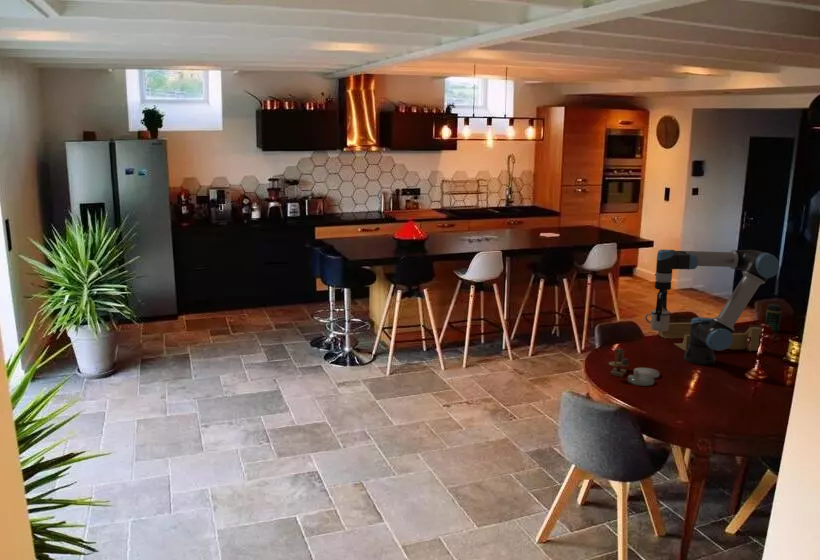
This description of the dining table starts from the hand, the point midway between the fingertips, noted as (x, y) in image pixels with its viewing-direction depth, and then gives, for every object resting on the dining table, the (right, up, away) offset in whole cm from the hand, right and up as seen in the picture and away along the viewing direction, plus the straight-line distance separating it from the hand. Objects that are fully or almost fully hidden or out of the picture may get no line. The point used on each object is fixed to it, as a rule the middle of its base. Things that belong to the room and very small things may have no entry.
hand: (659, 325), depth 343 cm
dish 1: (-9, -24, -7) cm, 26 cm away
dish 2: (-16, -25, -18) cm, 35 cm away
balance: (-23, -23, -7) cm, 33 cm away
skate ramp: (+44, -15, +48) cm, 67 cm away
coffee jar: (+96, -10, +77) cm, 123 cm away
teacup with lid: (-1, -2, +1) cm, 3 cm away
